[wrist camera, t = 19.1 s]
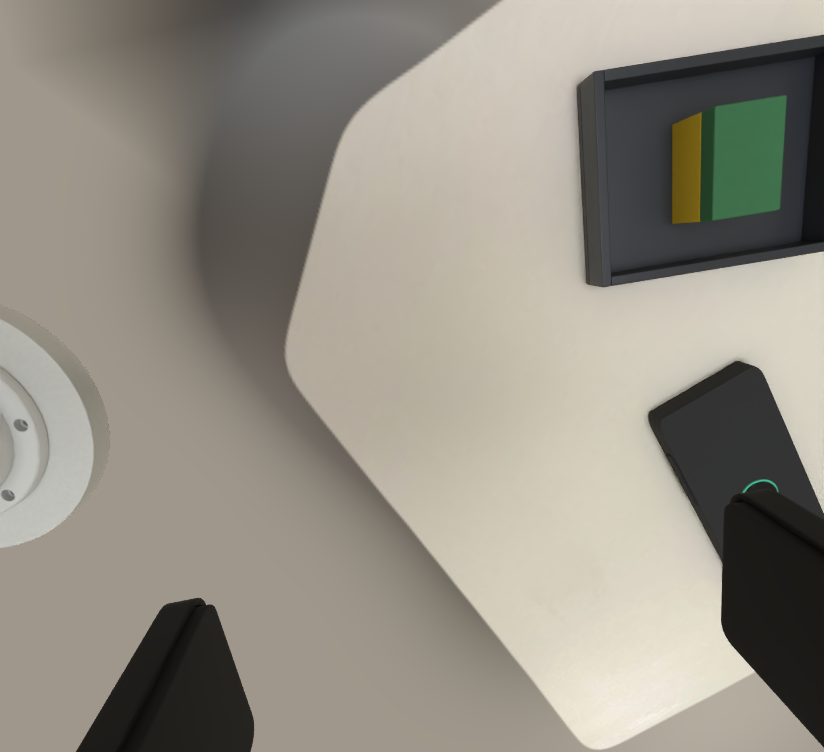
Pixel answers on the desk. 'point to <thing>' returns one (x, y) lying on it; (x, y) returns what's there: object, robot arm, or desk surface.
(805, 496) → the smart home device
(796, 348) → the desk surface
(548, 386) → the desk surface
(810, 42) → the pan
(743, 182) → the sponge
